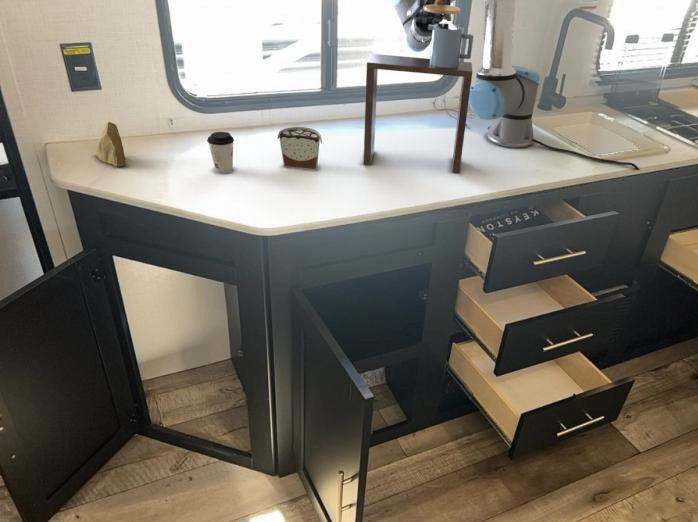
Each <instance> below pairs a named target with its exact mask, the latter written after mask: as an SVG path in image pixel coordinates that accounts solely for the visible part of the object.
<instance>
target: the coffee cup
mask: <svg viewBox="0 0 698 522" xmlns="http://www.w3.org/2000/svg"><path fill="white" fill-rule="evenodd" d="M206 141H207V143H208V146H209V150H210V154H211V158H212V162H213V167H214V172H216V173H217V174H221V175H224V174H230V173H231V172H233V169H234V167H233V165H234V142H235V139H234V137H233V136H232V135H231V133H230V132H227V131H215V132H212V133H210V135H209V136H208V137H207V139H206Z"/></svg>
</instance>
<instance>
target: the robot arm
mask: <svg viewBox="0 0 698 522" xmlns="http://www.w3.org/2000/svg"><path fill="white" fill-rule="evenodd" d="M442 1H443V5H450V6H452V5H451V4H453V3H454V2H455V1H456V0H442ZM391 2H392V4H393V7H394V10H395V11H396V15H397V16H398V18H399V20H400V22H401V24H402V26H403V30H404V32H405V34H406V45H407V47H408V48H409V49H410V50H411V51H413V52H417V53H418V52H419V53H420V52H423V51H425V50H426V49H427V48H428V47H429V46H430V45H431V43H432V32H433V30H428V25H434V24H441V23H443V21H447V22H451V21H452V14H437V13H431V12H428V11H425V6H426V5H431V4H434V2H435V0H391ZM516 5H517V0H484V17H483V18H484V19H483V40H482V57H481V58H482V61H481V66H480V67H479V68H478V69H477V70H476V78H475V82H474V83H473V85H472V86H471V87H470V95H469V102H468V105H469V107H470V109H471V111H472V112H473V113H474V115H475V116H477V117H478V118H479V119H482V120H484V121H492V122H491V124H490V125H489V126H488V127H487V128H486V129H487V133H486V134H487V135H486V139H487V140H488V141H489V142H490V143H492V144H495V145H497V146H500V147H505V148H511V149H512V148H513V149H521V148H528V147H530V146H532V145H533V143H535V144H538V145H540V146H542V147H544V148H546V149H548V150H549V149H550V150H553V151H557V152H563V153H568V154H572V155H575V156H579V157H582V158H585V159H589V160H592V161H597V162H602V163H608V164H615V165H620V166H631V167H633V168H634V169H635V170H636V171H640V168H639V167H638V165H636V164H635V163H633V162H627V161H618V160H611V159H605V158H599V157H594V156H590V155H587V154H584V153H581V152H577V151H575V150H570V149H565V148H559V147H554V146H552V145H548V144H545V143H544V142H542V141H539V140H537V139H535V138H534V136H535V135H534V127H533V120H532V119H533V113H534V108H535V104H536V99H537V94H538V88H539V86H540V73H539V71H537V70H535V69H532V68H529V67H524V66H519V65H512V63H513V49H514V48H513V47H514V35H515V33H514V32H515V22H516V21H515V19H516V8H517V7H516Z"/></svg>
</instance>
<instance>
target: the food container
mask: <svg viewBox="0 0 698 522" xmlns="http://www.w3.org/2000/svg"><path fill="white" fill-rule="evenodd" d="M276 140H279V145H280V151H281V156H282V163H283V168H289V169H290V168H291V169H299V170H301V169H302V170H311V171H313V170H314V171H318V162H319V152H320V144H322V143H323V140H322V136H321V133H320V132H319V131H318V130H316V129H314V128H311V127H305V126H292V127H285V128H282V129H281V130H279V131H278V134H277V139H276Z"/></svg>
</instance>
